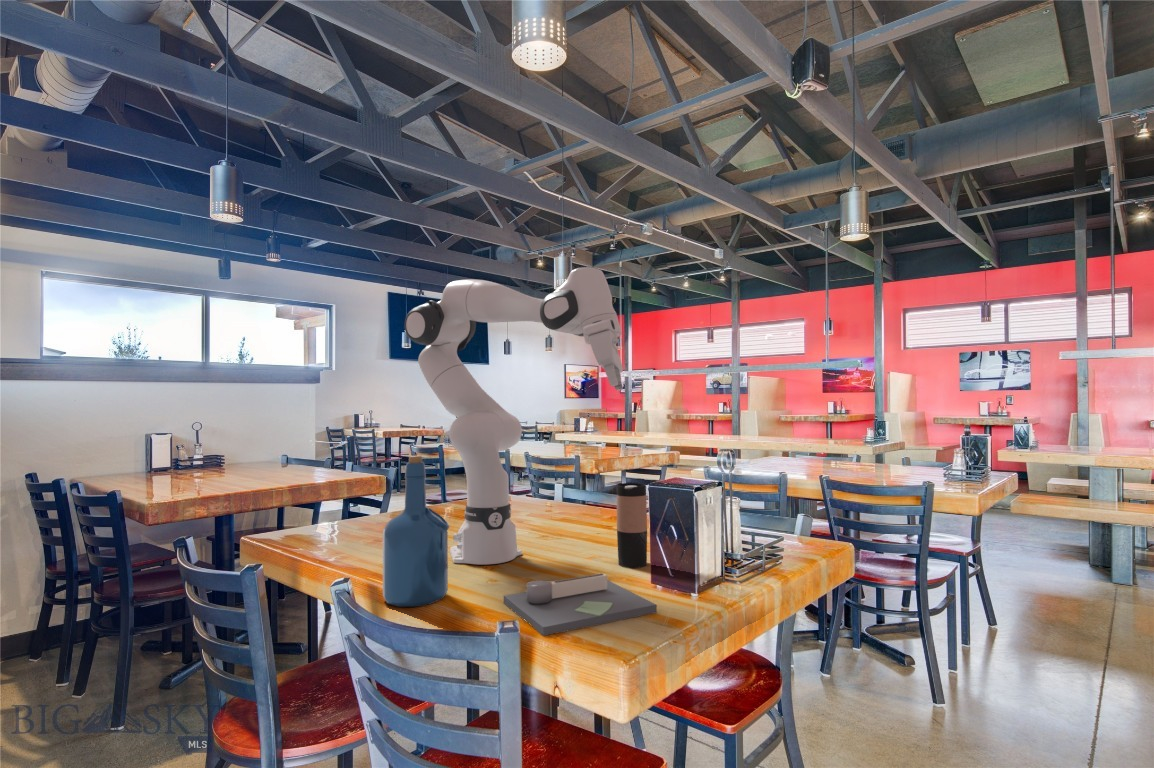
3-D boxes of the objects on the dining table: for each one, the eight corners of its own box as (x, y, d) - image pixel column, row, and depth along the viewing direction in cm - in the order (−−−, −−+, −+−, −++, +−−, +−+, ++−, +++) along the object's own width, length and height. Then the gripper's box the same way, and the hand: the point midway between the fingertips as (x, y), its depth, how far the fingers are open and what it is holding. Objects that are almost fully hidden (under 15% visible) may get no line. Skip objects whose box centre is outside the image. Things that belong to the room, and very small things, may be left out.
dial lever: (523, 597, 118) (522, 582, 118) (599, 584, 126) (598, 570, 126) (532, 605, 114) (532, 589, 114) (611, 591, 122) (610, 576, 122)
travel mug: (636, 558, 154) (635, 482, 155) (653, 565, 148) (652, 485, 149) (611, 562, 151) (610, 484, 152) (628, 569, 144) (626, 487, 145)
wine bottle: (379, 611, 117) (379, 459, 118) (386, 591, 130) (386, 454, 131) (449, 605, 120) (449, 457, 121) (449, 586, 132) (449, 452, 134)
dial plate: (503, 602, 121) (503, 594, 121) (604, 585, 132) (604, 577, 132) (543, 636, 103) (543, 626, 103) (657, 612, 114) (656, 603, 114)
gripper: (596, 343, 150) (609, 395, 148) (581, 326, 130) (597, 387, 128) (619, 336, 149) (634, 388, 147) (609, 318, 129) (625, 379, 127)
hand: (617, 387), depth 137 cm, fingers open, 8 cm apart
